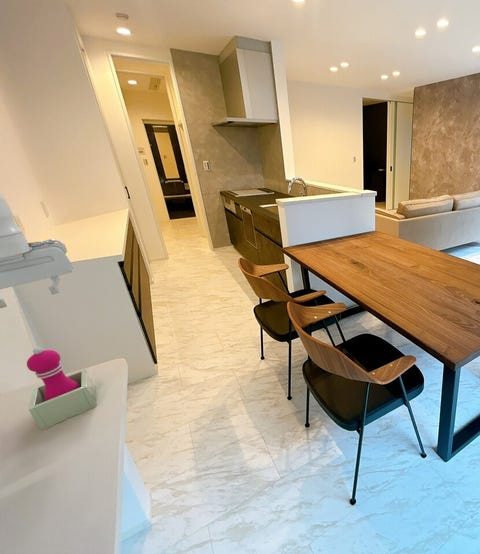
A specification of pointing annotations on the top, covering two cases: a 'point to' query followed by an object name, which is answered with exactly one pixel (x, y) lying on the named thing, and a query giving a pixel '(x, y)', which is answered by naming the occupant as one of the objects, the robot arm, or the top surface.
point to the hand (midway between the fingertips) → (30, 299)
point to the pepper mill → (50, 373)
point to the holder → (63, 401)
